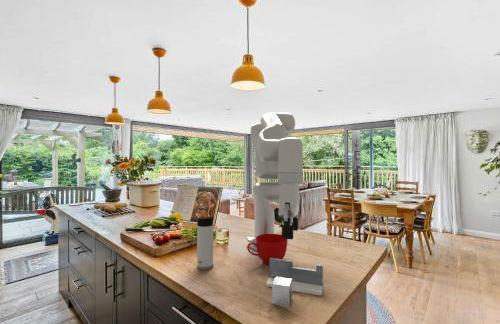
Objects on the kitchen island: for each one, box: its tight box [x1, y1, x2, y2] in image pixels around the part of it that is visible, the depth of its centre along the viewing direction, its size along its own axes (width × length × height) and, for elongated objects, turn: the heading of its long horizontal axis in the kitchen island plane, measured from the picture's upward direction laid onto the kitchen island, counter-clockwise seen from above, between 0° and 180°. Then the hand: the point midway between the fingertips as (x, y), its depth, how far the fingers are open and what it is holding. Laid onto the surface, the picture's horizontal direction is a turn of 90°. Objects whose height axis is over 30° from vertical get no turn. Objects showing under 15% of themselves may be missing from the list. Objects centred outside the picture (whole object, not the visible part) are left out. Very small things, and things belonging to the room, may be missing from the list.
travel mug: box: [196, 216, 214, 271], centre depth 100 cm, size 6×7×20 cm
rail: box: [269, 258, 324, 287], centre depth 87 cm, size 18×1×6 cm, turn 71°
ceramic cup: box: [246, 233, 288, 266], centre depth 104 cm, size 13×17×10 cm
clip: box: [271, 276, 293, 308], centre depth 76 cm, size 5×5×6 cm
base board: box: [265, 277, 324, 296], centre depth 87 cm, size 18×10×1 cm, turn 71°
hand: (290, 234), depth 78 cm, fingers open, 9 cm apart
